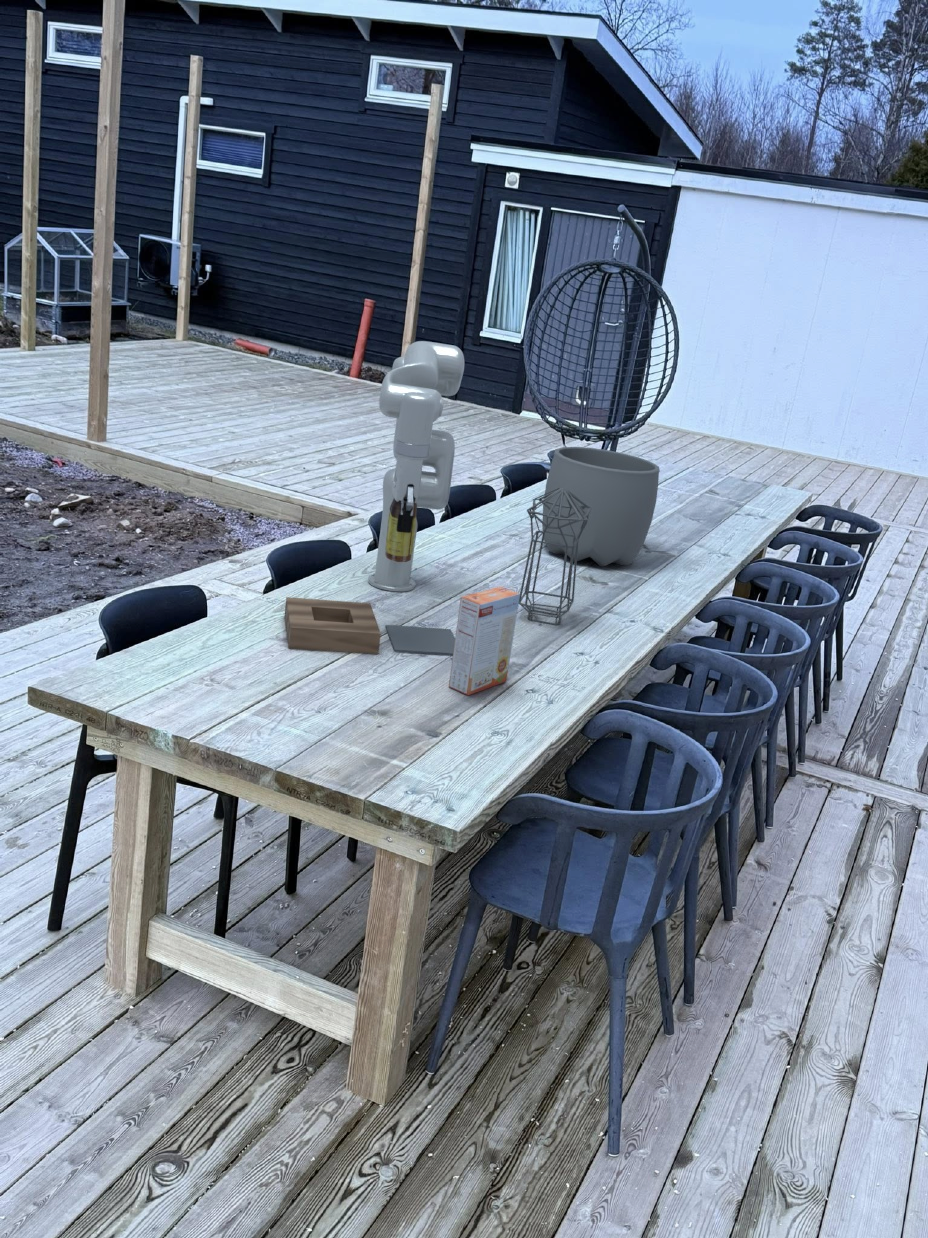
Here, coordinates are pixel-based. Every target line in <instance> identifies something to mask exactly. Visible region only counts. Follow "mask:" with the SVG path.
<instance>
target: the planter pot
mask: <svg viewBox="0 0 928 1238" xmlns="http://www.w3.org/2000/svg"><path fill="white" fill-rule="evenodd" d="M659 475H660V466H659V465H657V464H655V463H654V462H653V461H650V460H647V459H644V458H642V457H639V456H635V455H631V454H627V453H623V452H618V451H613V450H608V449H602V448H593V447H583V446H563V447H558V448H555V450H554V453H553V457H552V461H551V464H550V467H549V472H548V475H547V479H546V484H545V490H544V494H546V493H548V492H550V491H552V490H555V489H557V488H565V489H567V490H568V491H569V492H571V493H572V494H573V495H575V496H576V497H577V498H579V499H580V500H581V501H583V502H584V503H585V504H587V505H588V506H589V507H591V508H592V509H591V511H590V513H589V517H588V521H587V525H585V528H584V529H583V531H582V534H581V536H580V538H579V541H578V552H577V562H579V561H582V560H585V559H587V558H590V559H592V561H593V562H595V563H596V564H597V565H599V567H606V566H608V565H609V564H611V563H614V564H618V565H620V566H630V565H632V563H633V562H634V560H635V559H636V557H637V556H638V554H639V553H640V551H641V550H642V548H643V546H644V545H645V542H646V538H647V536H648V533H649V531H650V528H651V525H652V522H653V518H654V512H655V510H656V509H655V508H656V504H657V498H658V492H659V491H658V490H659V489H658V488H659V478H660V477H659ZM559 493H560V492H558V493H557V494H556V495H554V496H553V497H552V498H551V499H549V500H548V501H549V502H553V503H554V502H555V500H556V498H557V497H558V495H559ZM544 494H543V495H544ZM546 495H547V494H546ZM544 496H545V495H544ZM560 498H561V495H560V497H559V499H558V501H557V503H556V504H559V503H560ZM575 501H576V502H577V503H578V504H579V505H583V504H581V503H580V502H579V501H577V500H576V499H575ZM546 504H547V505H548V506H549V507H550V508H552V506H553V505H552V504H549V503H546ZM562 505H564V506H569V504H568V501H567V498H566V496H565V495H563V501H562ZM581 508H582V507H581ZM588 509H589V508H587V507H586V508H585V509H583V510H584V511H585V512H586V514H587V512H588ZM553 510H554V511H555V512H556V513H558V510H559V506H556V505H555V506H554V508H553ZM569 510H570V508H564V507H562V509H561V515H564V516H568V513H569ZM549 511H550V509H548V508H547V507H546V506H545V505H544V504H543V505H542V513H543V514H547V515H548V513H549ZM573 512H575V511H574V510H573V508H571V511H570V514H572V513H573ZM579 514H580V513H579ZM555 515H556V514H554V513H553V512H551V514H550V516H555ZM580 516H581V515H580ZM556 517H558V516H556ZM560 518H563V517H560ZM569 518H576V519H579V518H578V516H577V515H576V514H574V515H572V516H570V517H569ZM581 518H582V516H581ZM552 519H553V518H548V524H549V523H550V521H551V520H552ZM582 519H583V518H582ZM542 521H543V522H544V523H545V524H546V525H547V517H546V516H542ZM569 521H570V522H573V520H569ZM569 521H568V520H559V526H562V525H564V524H567V523H569ZM582 523H583V521H582V520H581V521H579V522H576V523H573V524H571V526H572V528H573V531H574V533H575V536H576V537H577V536H578V534H579V532H580V530H581V526H582ZM541 524H542V523H541ZM550 526H554V527H558V519H554V520H553V522H552V523H551V524H550ZM571 526H570V525H568V526H565V527H562V528H561V530H562V532H563V534H568V535H574V534H573V531H572V529H571ZM545 528H546V527H545V526H544V525H543V524H542V531H544V529H545ZM546 531H549V532H555V533H560V530H559V529H551V528H547V530H546ZM564 537H565V539H566V542H567V544H568V546H573V539H574V537H571V536H565V535H564ZM575 540H576V539H575ZM543 542H548V543H554V544H559V545H565V546H566V544H565V542H564V539H563V537H562V535H559V534H552V533H546V532H545V535H544V540H543ZM575 543H576V542H575ZM545 545H546V549H547V550H548V551H549V552H550V553H553V554H558V555H559V554H562V555H565V549H566V547H563V546H557V545H551V544H545ZM575 551H576V546H575V547H574V555H573V562H575ZM571 553H572V548H568V549H567V557H569V559H571Z"/></svg>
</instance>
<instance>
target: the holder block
mask: <svg viewBox="0 0 928 1238" xmlns="http://www.w3.org/2000/svg"><path fill="white" fill-rule="evenodd" d="M283 617H284V618H283V619H284V624H285V625H284V626H285V631H286V638H287V639H286V640H287V646H288V647H287V648H288V650H289V649H290V650H302V651H304V650H305V651H319V652H335V653H351V654H353V653H354V654H369V655H379V652H380V651H379V650H380V642H381V637H382V636H381V635H382V633H381V630H380V626H379V624H378V621H377V618H376V615H375V612H374V610H373V608H372V604H371V603H369V602H360V601H359V602H358V601H357V602H356V601H344V600H343V601H341V600H332V599H331V600H330V599H319V598H318V599H316V598H305V597H293V596H292V597H290V596H285V607H284V616H283Z"/></svg>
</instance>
